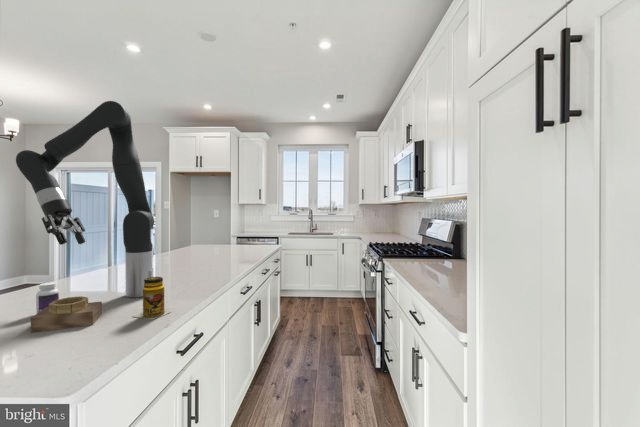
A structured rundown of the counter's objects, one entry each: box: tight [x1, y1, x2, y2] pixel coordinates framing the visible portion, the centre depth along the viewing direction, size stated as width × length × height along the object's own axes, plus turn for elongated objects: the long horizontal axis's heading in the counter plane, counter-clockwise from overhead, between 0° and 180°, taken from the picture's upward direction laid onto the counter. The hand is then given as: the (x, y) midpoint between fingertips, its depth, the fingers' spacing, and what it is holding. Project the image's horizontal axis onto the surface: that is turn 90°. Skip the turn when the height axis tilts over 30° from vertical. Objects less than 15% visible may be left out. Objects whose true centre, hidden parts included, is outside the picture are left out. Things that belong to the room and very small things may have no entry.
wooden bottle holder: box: [30, 295, 103, 333], centre depth 90 cm, size 14×10×6 cm
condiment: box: [132, 276, 170, 321], centre depth 97 cm, size 7×8×12 cm
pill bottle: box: [35, 281, 60, 314], centre depth 97 cm, size 5×5×10 cm
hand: (73, 243), depth 106 cm, fingers open, 8 cm apart
